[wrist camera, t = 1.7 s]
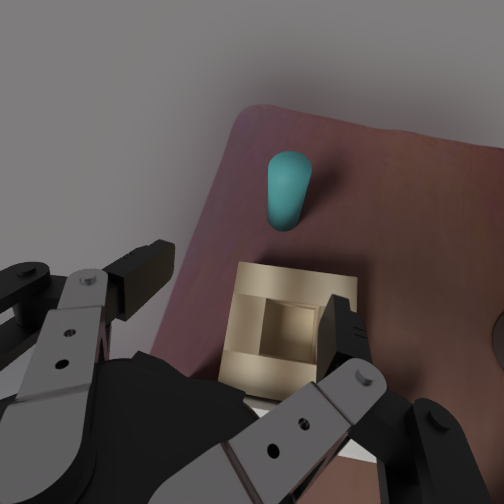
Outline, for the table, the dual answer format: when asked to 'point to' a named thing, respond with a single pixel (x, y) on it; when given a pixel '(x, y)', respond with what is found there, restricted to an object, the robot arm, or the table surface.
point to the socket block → (277, 327)
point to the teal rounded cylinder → (287, 188)
